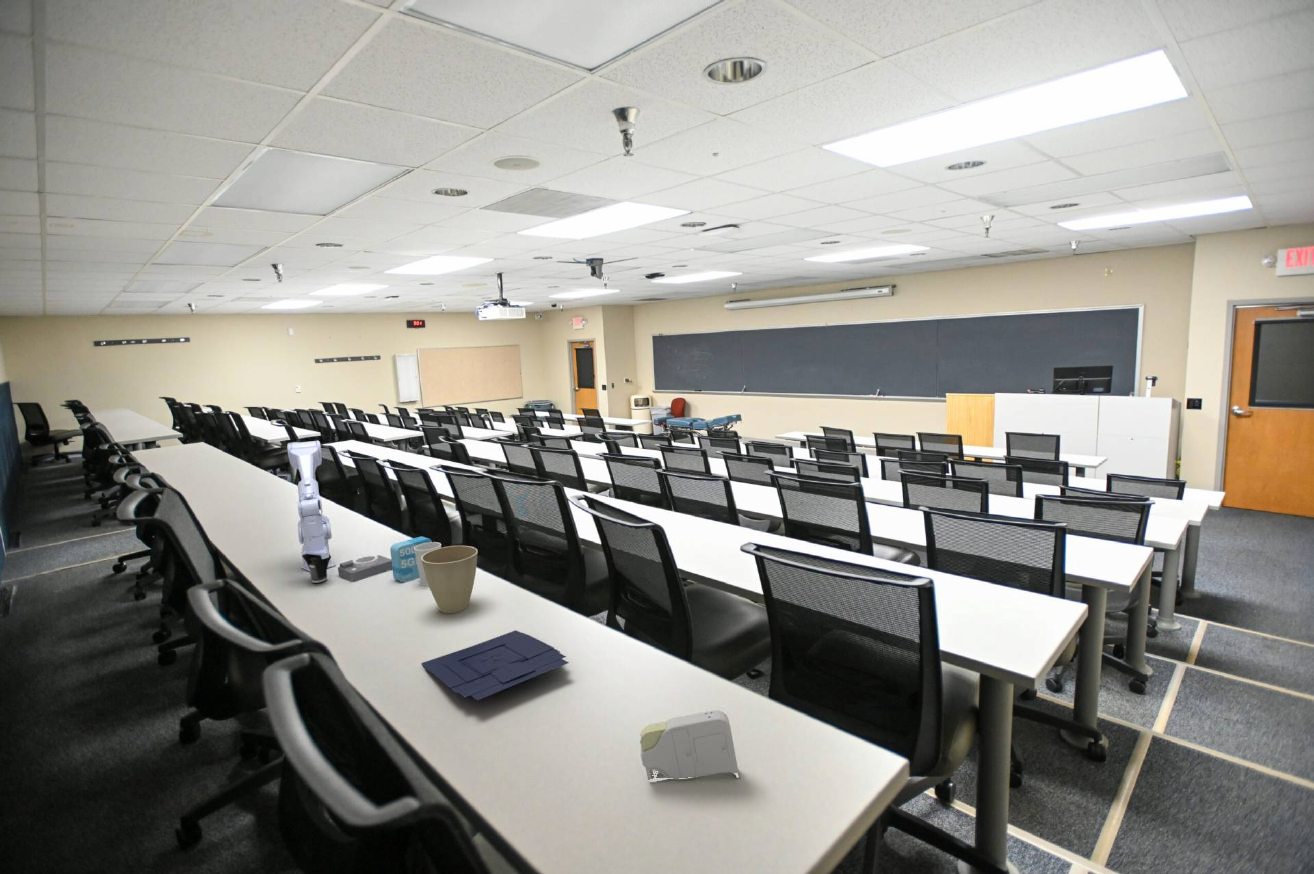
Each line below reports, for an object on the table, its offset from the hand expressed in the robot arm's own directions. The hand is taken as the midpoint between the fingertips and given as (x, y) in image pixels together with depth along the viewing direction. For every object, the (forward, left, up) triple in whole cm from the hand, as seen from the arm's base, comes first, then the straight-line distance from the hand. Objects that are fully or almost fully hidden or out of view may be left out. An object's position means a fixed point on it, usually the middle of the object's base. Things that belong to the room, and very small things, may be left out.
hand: (319, 575), depth 194 cm
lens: (0, 0, -2) cm, 2 cm away
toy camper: (+151, -4, -2) cm, 151 cm away
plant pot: (+57, +13, -2) cm, 59 cm away
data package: (+23, +20, -2) cm, 31 cm away
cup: (+33, +20, -2) cm, 39 cm away
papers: (+95, -1, -3) cm, 95 cm away
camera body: (+5, +13, -2) cm, 14 cm away
